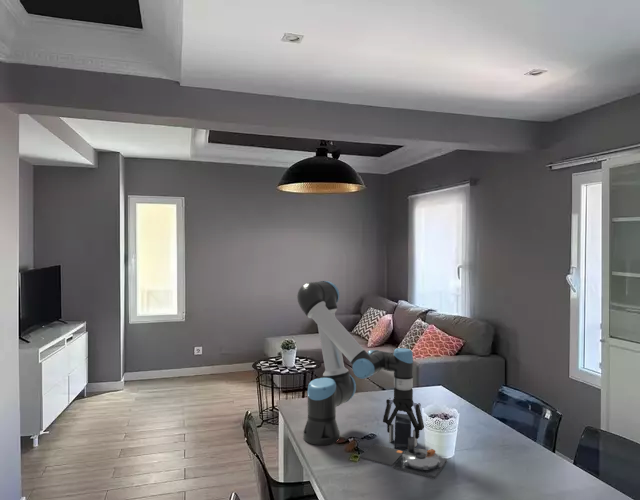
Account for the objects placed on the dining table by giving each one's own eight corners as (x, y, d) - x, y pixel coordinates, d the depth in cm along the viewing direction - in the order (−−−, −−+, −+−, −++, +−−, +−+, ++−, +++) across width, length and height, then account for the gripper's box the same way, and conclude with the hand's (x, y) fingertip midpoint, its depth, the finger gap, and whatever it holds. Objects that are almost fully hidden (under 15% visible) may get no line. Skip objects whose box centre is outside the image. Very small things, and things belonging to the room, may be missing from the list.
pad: (359, 457, 173) (359, 456, 173) (373, 445, 184) (373, 443, 184) (392, 466, 166) (392, 464, 166) (404, 452, 178) (404, 450, 178)
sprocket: (419, 473, 158) (419, 454, 158) (393, 458, 170) (393, 440, 170) (448, 463, 166) (448, 445, 166) (422, 450, 177) (422, 432, 177)
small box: (410, 450, 180) (411, 423, 180) (394, 448, 181) (394, 422, 181) (411, 439, 190) (411, 414, 190) (395, 438, 192) (395, 412, 192)
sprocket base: (393, 468, 165) (393, 465, 165) (408, 452, 178) (408, 449, 178) (435, 479, 157) (435, 476, 157) (446, 461, 170) (446, 459, 170)
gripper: (374, 385, 188) (374, 440, 188) (427, 394, 177) (426, 453, 177) (381, 381, 195) (381, 434, 195) (432, 389, 183) (432, 445, 184)
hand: (403, 443), depth 186 cm, fingers open, 9 cm apart
